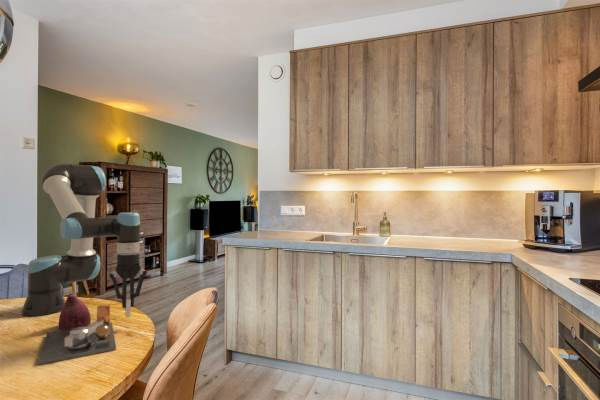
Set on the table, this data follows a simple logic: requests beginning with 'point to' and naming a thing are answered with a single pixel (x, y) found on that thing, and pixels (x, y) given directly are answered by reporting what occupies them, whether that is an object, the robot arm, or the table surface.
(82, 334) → the lever
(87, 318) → the vegetable
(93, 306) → the table surface
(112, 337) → the base
